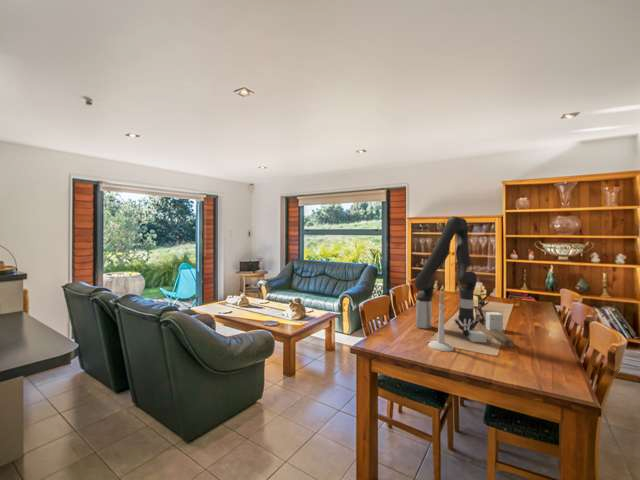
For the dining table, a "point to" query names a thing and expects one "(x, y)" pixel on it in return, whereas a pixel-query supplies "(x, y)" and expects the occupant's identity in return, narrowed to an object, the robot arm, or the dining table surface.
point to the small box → (494, 321)
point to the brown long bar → (501, 338)
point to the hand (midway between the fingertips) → (465, 336)
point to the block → (477, 336)
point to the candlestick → (441, 331)
